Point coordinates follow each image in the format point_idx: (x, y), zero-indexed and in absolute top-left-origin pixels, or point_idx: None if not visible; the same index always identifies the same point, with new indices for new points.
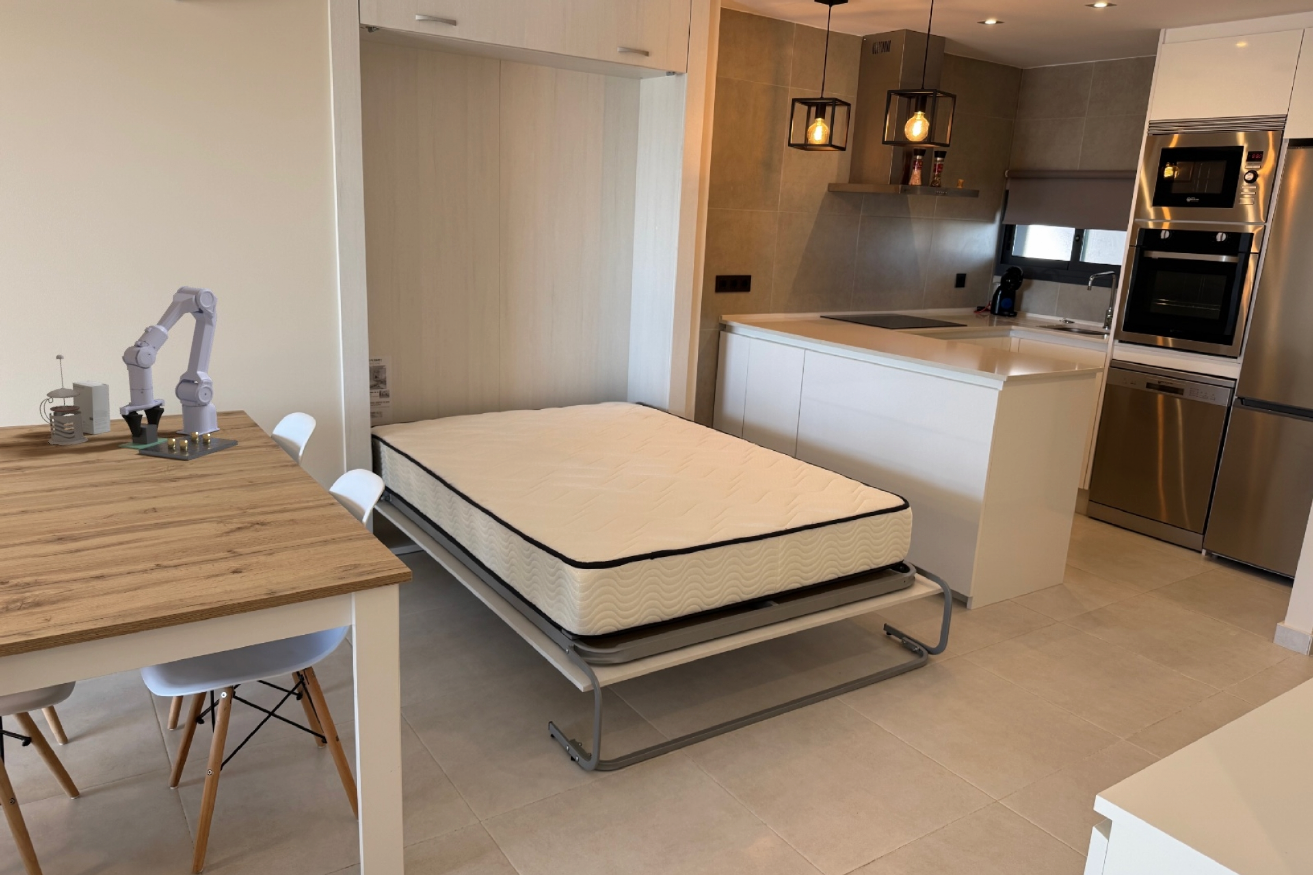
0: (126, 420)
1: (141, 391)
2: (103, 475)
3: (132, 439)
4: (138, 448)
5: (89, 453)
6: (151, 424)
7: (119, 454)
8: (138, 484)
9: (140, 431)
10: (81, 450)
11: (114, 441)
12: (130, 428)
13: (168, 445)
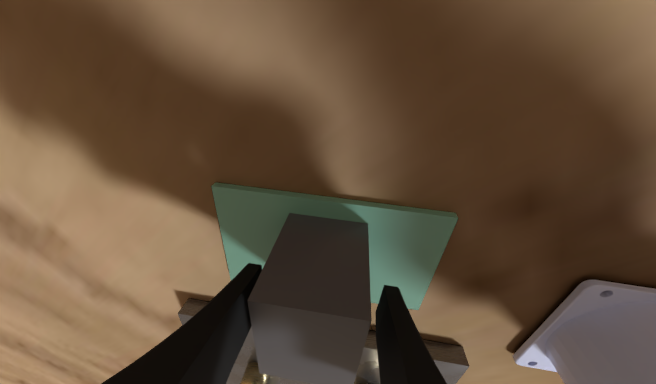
0: (126, 380)
1: None
2: (14, 314)
3: (283, 226)
4: (230, 275)
5: (50, 141)
6: (350, 372)
7: (141, 253)
8: (56, 372)
9: (246, 330)
10: (32, 49)
11: (298, 70)
12: (209, 308)
13: (242, 377)
